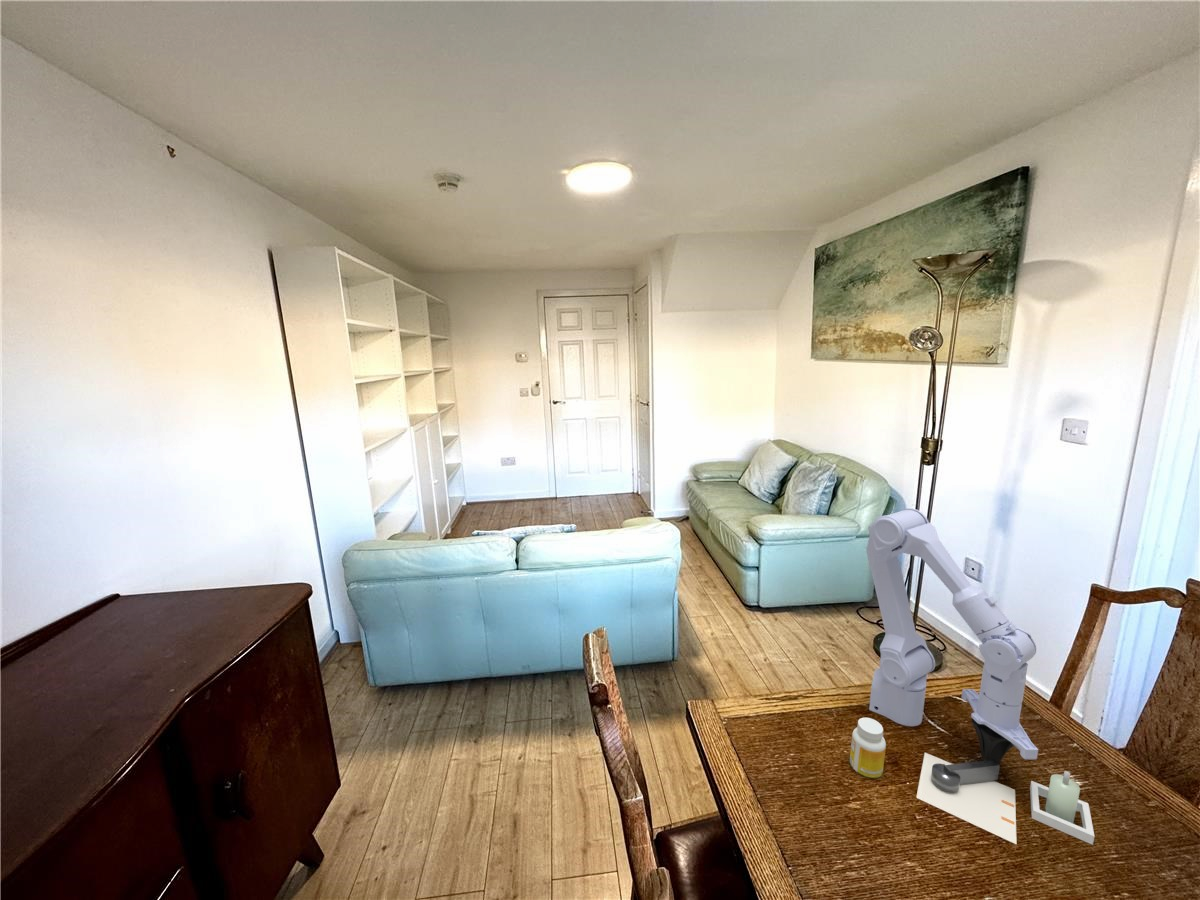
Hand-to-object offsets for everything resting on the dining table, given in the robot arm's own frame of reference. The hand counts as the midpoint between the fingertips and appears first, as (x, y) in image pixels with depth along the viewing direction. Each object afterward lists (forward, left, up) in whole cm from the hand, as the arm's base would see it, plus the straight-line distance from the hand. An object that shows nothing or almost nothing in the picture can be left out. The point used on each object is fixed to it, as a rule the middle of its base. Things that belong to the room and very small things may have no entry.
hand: (990, 761), depth 87 cm
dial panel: (-3, -9, -2) cm, 10 cm away
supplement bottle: (-18, -13, -2) cm, 22 cm away
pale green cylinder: (+9, -5, -2) cm, 10 cm away
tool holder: (+9, -5, -2) cm, 10 cm away
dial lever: (-3, -6, -1) cm, 7 cm away
